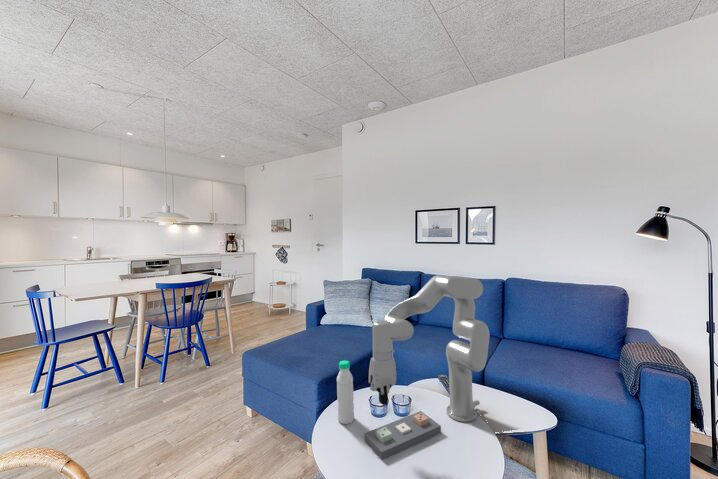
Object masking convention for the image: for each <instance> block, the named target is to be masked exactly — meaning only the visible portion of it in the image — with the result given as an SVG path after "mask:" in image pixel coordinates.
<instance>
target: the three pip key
mask: <svg viewBox="0 0 718 479" xmlns="http://www.w3.org/2000/svg"><path fill="white" fill-rule="evenodd" d="M424 414H425V413H424ZM424 414H422V413H419V414H417V415H414V416H413V422H414V423H415V424H417V425H418V426H419V427H422V426H425V425H427V424H429V418H430V417H429V416H428V417H429V418H428V417H426V416H425V415H426V414H425V415H424Z"/></svg>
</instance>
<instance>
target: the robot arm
mask: <svg viewBox="0 0 718 479" xmlns="http://www.w3.org/2000/svg"><path fill="white" fill-rule="evenodd" d="M483 291H484V285H483V283H482V282H481V280H479V279H477V278H474V277H466V276H461V275H460V276H459V275H444V274H436V275H434V276H432V277H431V278H430V279H429V280H428V281H427V282H426V284H424V286H423V287H422V288H421V289H420V290H418V292H417V293H416V294H415V295H413V296H411V297H409V298H407V299H405V300H404V301H402V302H399V303H397V305H395V306H393V307H392V308H391V309H390V310H389V311H388V313H386V315H385V316H384V317H383V319H381V320H379V319H378V320H376V321H374V322H373V323H372V326H371V328H372V357H370V361H369V368H368V383H369V384H370V387H369V389H370V390H371V391H372V392H377V393H378V402H379V403H380V404H381V405H382V406H385V405H388V403H389V402H388V400H389V395H388V394H389V393H390V389H392V387H394V386H395V385H396V384H397V383H396V382H397V367H396V366H397V365H396V361H395V357H394V353H395V352H396V350H395V348H394V347H393V342H394V341H405V340H409V339H410V338H411V337H412V336H413V335H414V331H415V329H414V326H413V324H412V323H411V322H410V321H408V320H406V319H407V318H409V317H412V316H414V315H419V314H425V313H428V312H430V311H432V310H433V309H434V308H435V307H436V305H437V304H438V303H439V302H440V301H441V300H442V299H443V298H444V297H447V298H452V299H453V301H454V312H453V320H452V333H453V335H454V336H456V337H458V338H460V339H462V340H465V341H468V342H469V343H468V342H465V341H462V340H457V339H454V340H451V341H449V342H448V343H447V345H446V348H445V355H446V360H447V365H448V386H449V405H447V407H446V414H447V416H448V417H449V418H451V419H453V420H454V421H458V422H461V423H462V422H464V423H469V422H473V421H474V420H476V419H477V417H478V414H477V413H478V412H477V410H476V409H475V408H476V406H479V405H480V404H481V402H480V400H479V399H476V400H473V374H472V371H473V372H476V373H478V372H481V371H483V370H484V368H485V366H486V365H487V364H486V363H487V360H488V354H489V352H488V351H489V344H490V330H489V327H488V325H487V324H486V323H485V322H484V321H482V320H479V319H476V318H475V317H476V303H475V301H474V300H476V299H478V298H480V297H481V296H482V294H483Z"/></svg>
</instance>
